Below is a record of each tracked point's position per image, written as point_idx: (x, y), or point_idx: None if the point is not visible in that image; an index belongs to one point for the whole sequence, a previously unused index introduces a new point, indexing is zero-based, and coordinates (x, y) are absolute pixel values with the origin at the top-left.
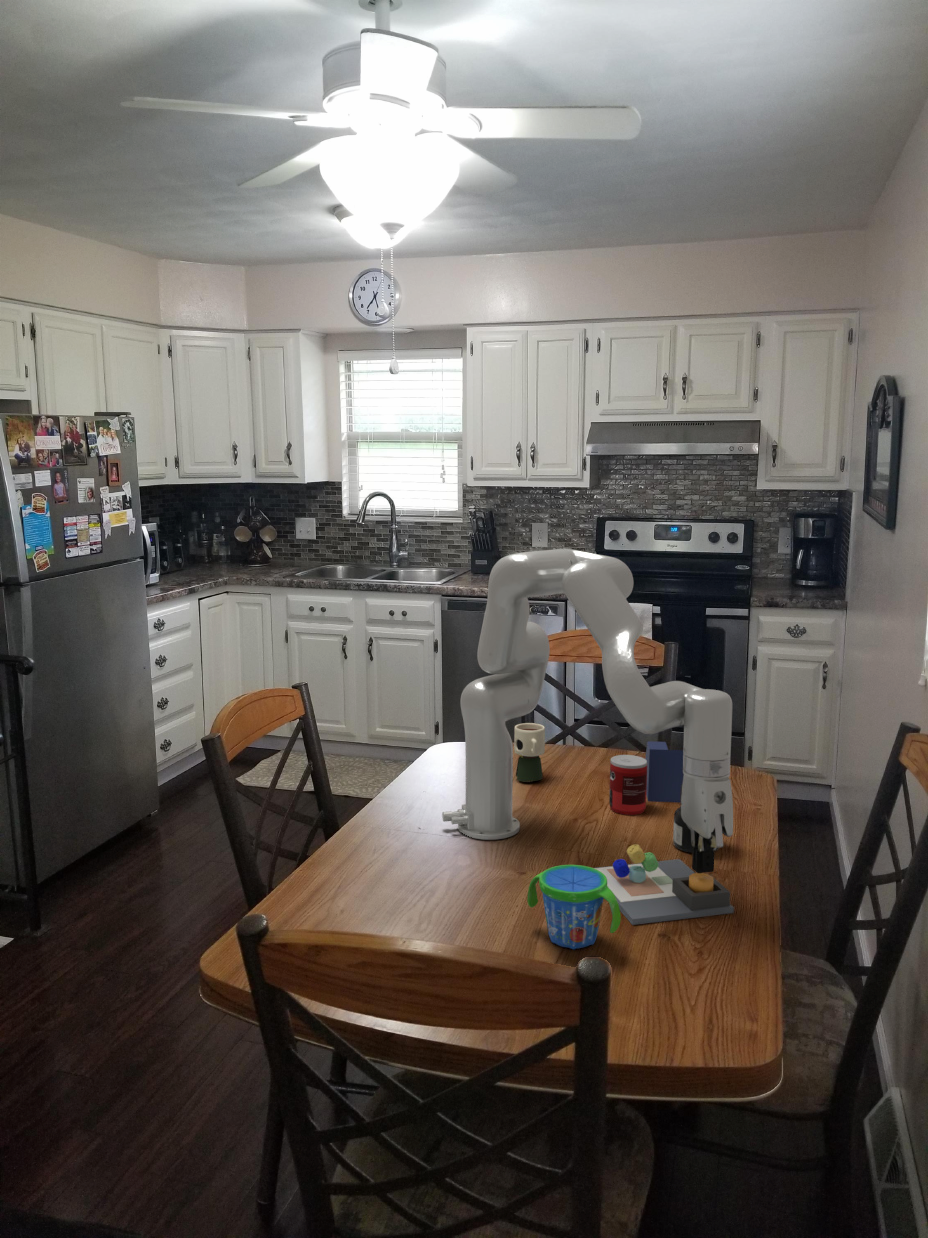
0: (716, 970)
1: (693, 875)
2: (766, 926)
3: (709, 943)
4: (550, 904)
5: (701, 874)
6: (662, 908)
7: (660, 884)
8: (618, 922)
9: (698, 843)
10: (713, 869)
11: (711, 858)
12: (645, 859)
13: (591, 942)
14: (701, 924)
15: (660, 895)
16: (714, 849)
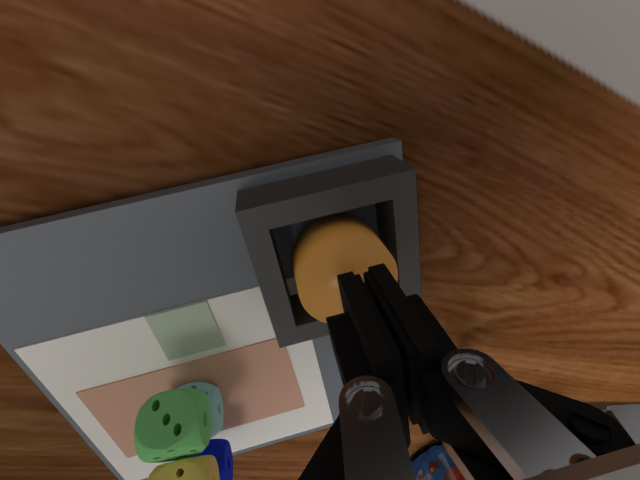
0: (629, 259)
1: (323, 309)
2: (502, 44)
3: (531, 251)
4: None
5: (315, 279)
6: None
7: (223, 342)
8: None
9: (461, 472)
10: (385, 267)
11: (440, 329)
12: (197, 453)
13: None
14: (439, 251)
15: (301, 346)
16: (485, 363)
